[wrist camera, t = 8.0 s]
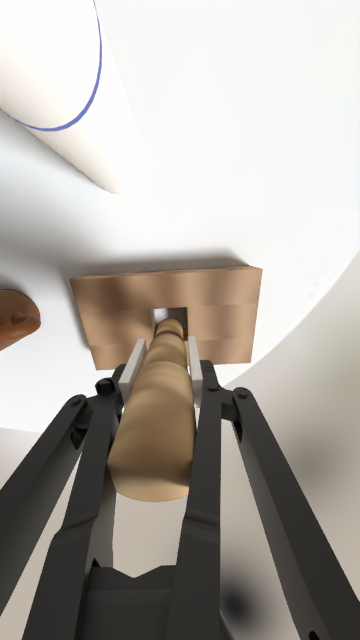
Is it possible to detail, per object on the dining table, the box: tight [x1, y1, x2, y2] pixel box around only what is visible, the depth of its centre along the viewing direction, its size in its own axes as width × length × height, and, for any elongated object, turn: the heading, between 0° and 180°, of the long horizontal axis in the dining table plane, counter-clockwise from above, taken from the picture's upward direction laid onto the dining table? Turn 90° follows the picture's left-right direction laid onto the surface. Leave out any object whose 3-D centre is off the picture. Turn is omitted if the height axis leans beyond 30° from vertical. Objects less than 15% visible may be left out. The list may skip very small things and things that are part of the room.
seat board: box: [70, 266, 262, 370], centre depth 26 cm, size 24×14×4 cm, turn 93°
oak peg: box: [107, 318, 197, 502], centre depth 16 cm, size 5×5×16 cm
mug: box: [0, 289, 41, 351], centre depth 23 cm, size 12×8×9 cm, turn 94°
